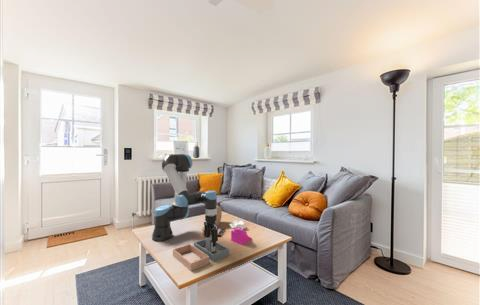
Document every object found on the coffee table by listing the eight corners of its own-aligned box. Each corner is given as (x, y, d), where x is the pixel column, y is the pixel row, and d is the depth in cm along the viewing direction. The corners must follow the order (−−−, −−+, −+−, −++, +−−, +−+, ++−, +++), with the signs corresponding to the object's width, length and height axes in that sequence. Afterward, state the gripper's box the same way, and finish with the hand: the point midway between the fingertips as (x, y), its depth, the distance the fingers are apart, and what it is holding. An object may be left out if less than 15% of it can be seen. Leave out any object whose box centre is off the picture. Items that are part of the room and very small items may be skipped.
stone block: (205, 249, 141) (205, 237, 141) (211, 247, 144) (211, 235, 144) (209, 252, 137) (209, 240, 137) (216, 250, 140) (216, 238, 140)
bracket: (242, 245, 151) (242, 230, 150) (231, 241, 157) (231, 227, 157) (252, 239, 160) (252, 226, 160) (241, 236, 166) (241, 223, 166)
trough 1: (172, 255, 135) (172, 249, 135) (190, 249, 143) (190, 243, 143) (190, 270, 118) (190, 263, 118) (209, 263, 126) (209, 256, 126)
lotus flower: (228, 226, 188) (228, 216, 188) (245, 226, 188) (245, 216, 188) (228, 232, 173) (228, 222, 173) (246, 232, 174) (246, 222, 174)
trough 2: (193, 248, 145) (193, 242, 145) (208, 243, 153) (208, 237, 153) (213, 261, 128) (213, 255, 128) (228, 255, 136) (228, 248, 136)
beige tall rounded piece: (212, 221, 201) (212, 197, 201) (221, 222, 199) (221, 197, 199) (204, 227, 185) (204, 201, 185) (214, 228, 182) (214, 201, 182)
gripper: (198, 212, 145) (198, 246, 145) (214, 219, 131) (213, 256, 131) (208, 210, 150) (208, 243, 150) (223, 216, 136) (223, 252, 136)
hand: (210, 249), depth 140 cm, fingers closed on stone block, 5 cm apart
